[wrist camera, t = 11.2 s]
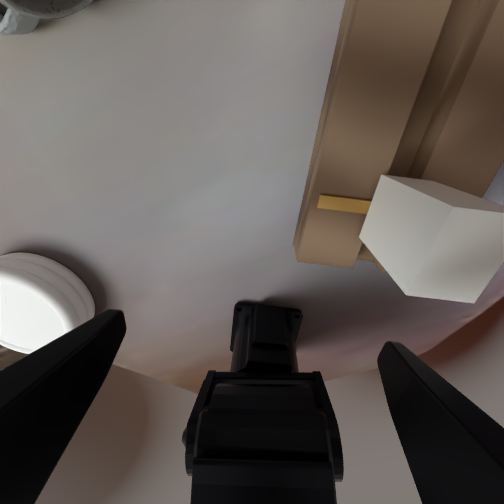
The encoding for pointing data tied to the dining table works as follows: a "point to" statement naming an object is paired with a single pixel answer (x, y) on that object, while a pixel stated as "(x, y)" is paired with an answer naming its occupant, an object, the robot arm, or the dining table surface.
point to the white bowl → (39, 301)
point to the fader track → (402, 114)
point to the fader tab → (434, 238)
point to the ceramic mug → (35, 13)
